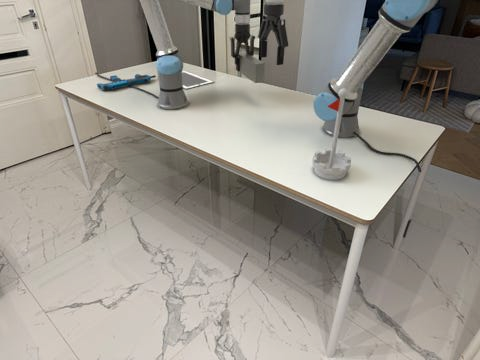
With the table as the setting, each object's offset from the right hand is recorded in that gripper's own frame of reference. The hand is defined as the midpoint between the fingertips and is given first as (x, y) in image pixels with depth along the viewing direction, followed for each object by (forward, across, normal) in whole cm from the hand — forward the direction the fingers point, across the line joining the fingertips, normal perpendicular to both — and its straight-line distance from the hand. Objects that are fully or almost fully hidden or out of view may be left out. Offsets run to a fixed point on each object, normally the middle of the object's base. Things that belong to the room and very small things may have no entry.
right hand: (271, 60), depth 141 cm
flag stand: (+28, +46, -1) cm, 54 cm away
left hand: (+15, -43, +7) cm, 46 cm away
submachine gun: (+28, -92, -49) cm, 108 cm away
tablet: (+28, -82, -14) cm, 88 cm away
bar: (+16, -34, +7) cm, 38 cm away
